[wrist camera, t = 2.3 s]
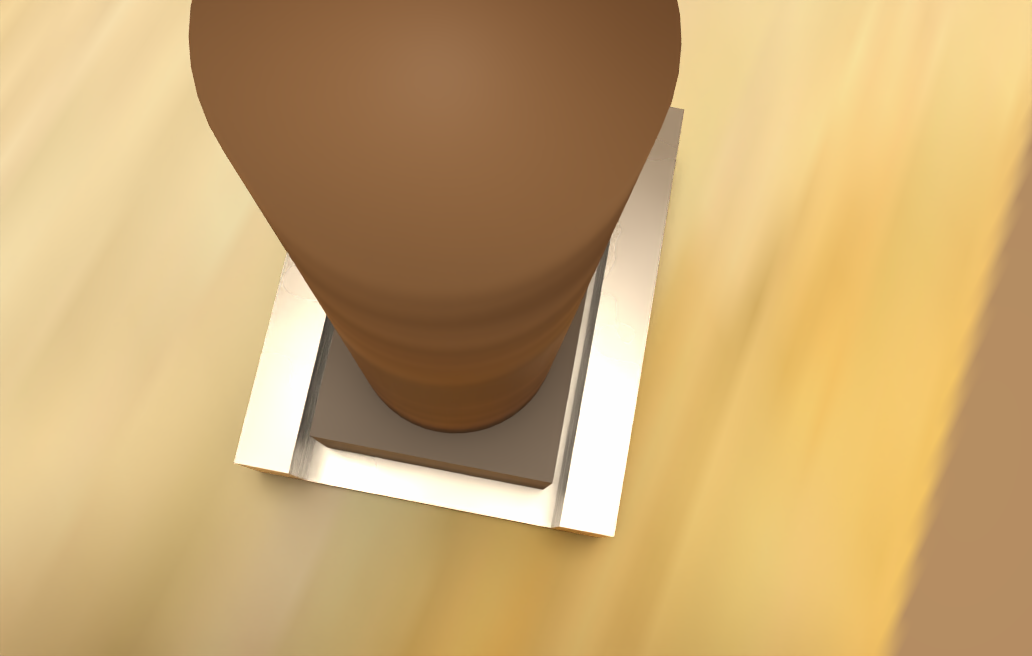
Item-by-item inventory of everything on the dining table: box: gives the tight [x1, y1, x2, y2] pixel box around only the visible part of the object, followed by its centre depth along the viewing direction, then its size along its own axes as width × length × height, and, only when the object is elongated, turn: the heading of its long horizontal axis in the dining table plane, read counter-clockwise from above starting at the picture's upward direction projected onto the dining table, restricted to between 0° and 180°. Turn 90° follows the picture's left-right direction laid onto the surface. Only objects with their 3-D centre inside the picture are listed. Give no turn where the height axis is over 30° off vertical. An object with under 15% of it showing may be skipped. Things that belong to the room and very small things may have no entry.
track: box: [234, 107, 684, 538], centre depth 20 cm, size 8×7×2 cm
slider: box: [189, 0, 681, 490], centre depth 14 cm, size 6×4×13 cm
